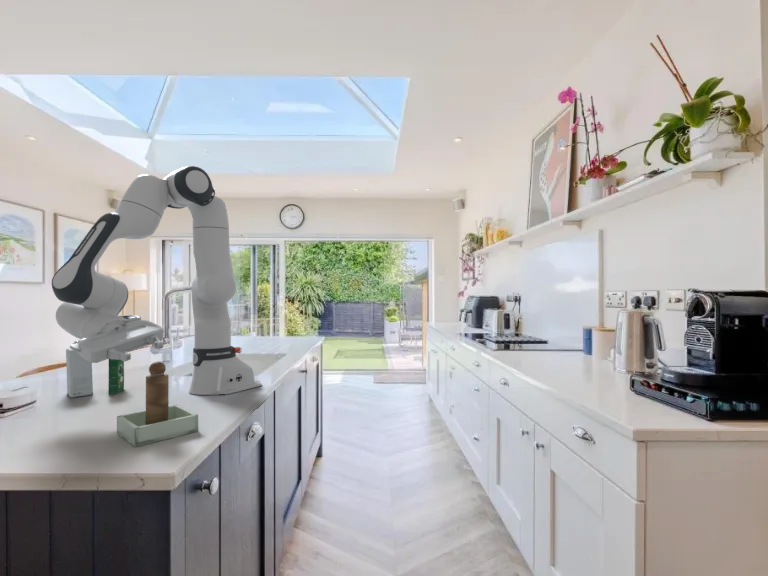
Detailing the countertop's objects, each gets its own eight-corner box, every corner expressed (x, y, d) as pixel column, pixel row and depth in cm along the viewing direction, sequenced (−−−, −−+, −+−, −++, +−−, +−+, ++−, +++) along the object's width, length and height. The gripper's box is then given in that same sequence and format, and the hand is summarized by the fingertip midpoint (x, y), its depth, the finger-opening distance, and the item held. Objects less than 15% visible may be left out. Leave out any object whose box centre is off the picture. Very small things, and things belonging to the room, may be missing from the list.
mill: (164, 423, 99) (164, 359, 99) (171, 427, 95) (171, 361, 96) (142, 428, 95) (143, 361, 96) (149, 432, 92) (149, 363, 92)
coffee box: (114, 389, 138) (114, 350, 138) (124, 388, 139) (124, 349, 139) (107, 395, 131) (107, 353, 131) (118, 394, 132) (118, 352, 132)
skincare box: (93, 394, 131) (93, 347, 131) (69, 398, 127) (69, 349, 127) (88, 390, 137) (88, 345, 137) (65, 393, 133) (65, 347, 133)
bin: (176, 419, 104) (176, 404, 104) (198, 431, 95) (198, 414, 95) (116, 432, 95) (116, 416, 95) (135, 446, 86) (135, 428, 86)
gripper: (65, 333, 99) (105, 354, 95) (142, 313, 118) (178, 330, 114) (65, 356, 101) (104, 378, 97) (140, 333, 120) (176, 350, 116)
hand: (145, 351), depth 106 cm, fingers open, 8 cm apart
